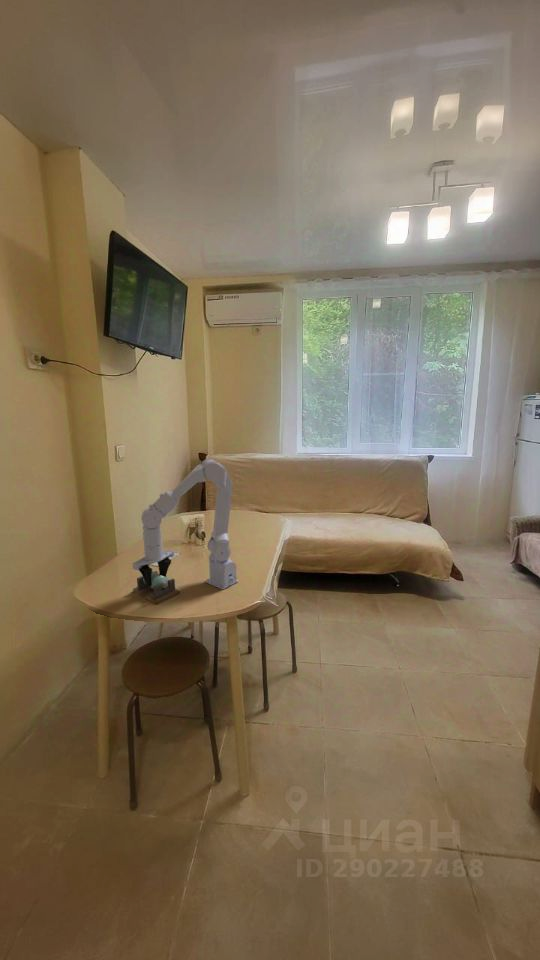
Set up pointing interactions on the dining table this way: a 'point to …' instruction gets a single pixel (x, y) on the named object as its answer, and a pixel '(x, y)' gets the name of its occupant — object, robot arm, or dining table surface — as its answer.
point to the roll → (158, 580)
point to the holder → (156, 591)
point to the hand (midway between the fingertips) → (155, 582)
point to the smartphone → (169, 558)
